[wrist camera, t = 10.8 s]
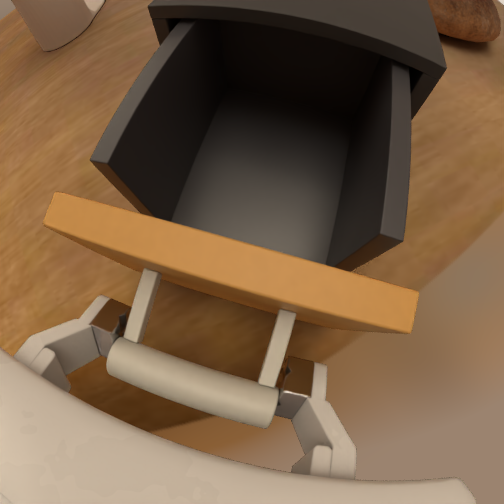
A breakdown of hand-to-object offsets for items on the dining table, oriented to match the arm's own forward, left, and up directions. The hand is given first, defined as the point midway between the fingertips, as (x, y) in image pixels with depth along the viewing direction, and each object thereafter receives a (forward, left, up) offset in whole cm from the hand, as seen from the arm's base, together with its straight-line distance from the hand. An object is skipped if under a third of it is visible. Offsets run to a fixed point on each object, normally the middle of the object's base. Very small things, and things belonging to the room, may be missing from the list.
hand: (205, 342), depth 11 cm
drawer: (+7, 0, -5) cm, 8 cm away
